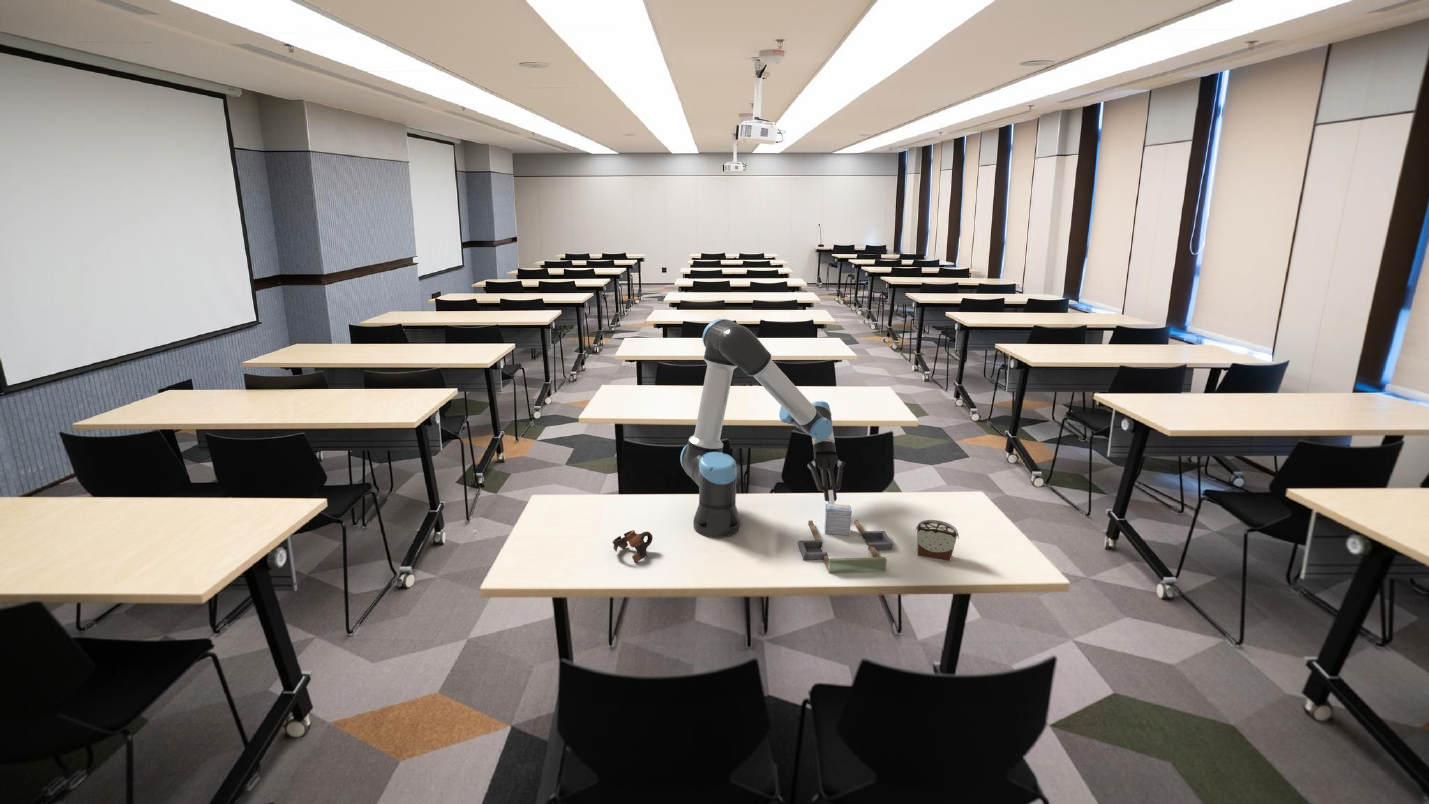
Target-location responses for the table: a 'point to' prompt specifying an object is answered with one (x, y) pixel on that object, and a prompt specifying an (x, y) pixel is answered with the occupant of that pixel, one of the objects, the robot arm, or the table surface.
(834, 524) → the medicine box
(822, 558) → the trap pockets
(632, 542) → the brown looped part
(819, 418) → the robot arm
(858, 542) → the table surface
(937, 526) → the food container
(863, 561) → the walnut lane
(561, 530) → the table surface
